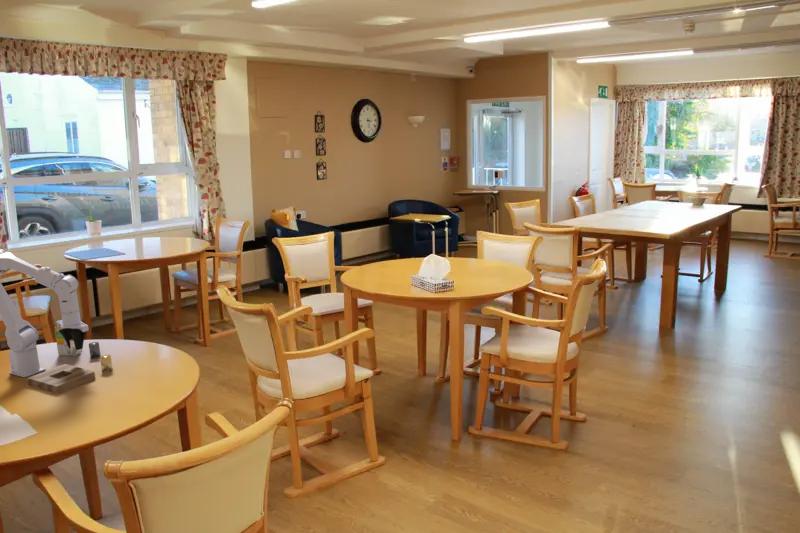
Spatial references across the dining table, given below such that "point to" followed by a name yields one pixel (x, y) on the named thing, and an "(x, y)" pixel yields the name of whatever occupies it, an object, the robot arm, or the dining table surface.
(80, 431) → the dining table surface
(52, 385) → the socket board
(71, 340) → the steel roller
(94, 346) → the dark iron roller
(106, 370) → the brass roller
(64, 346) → the crayon box
